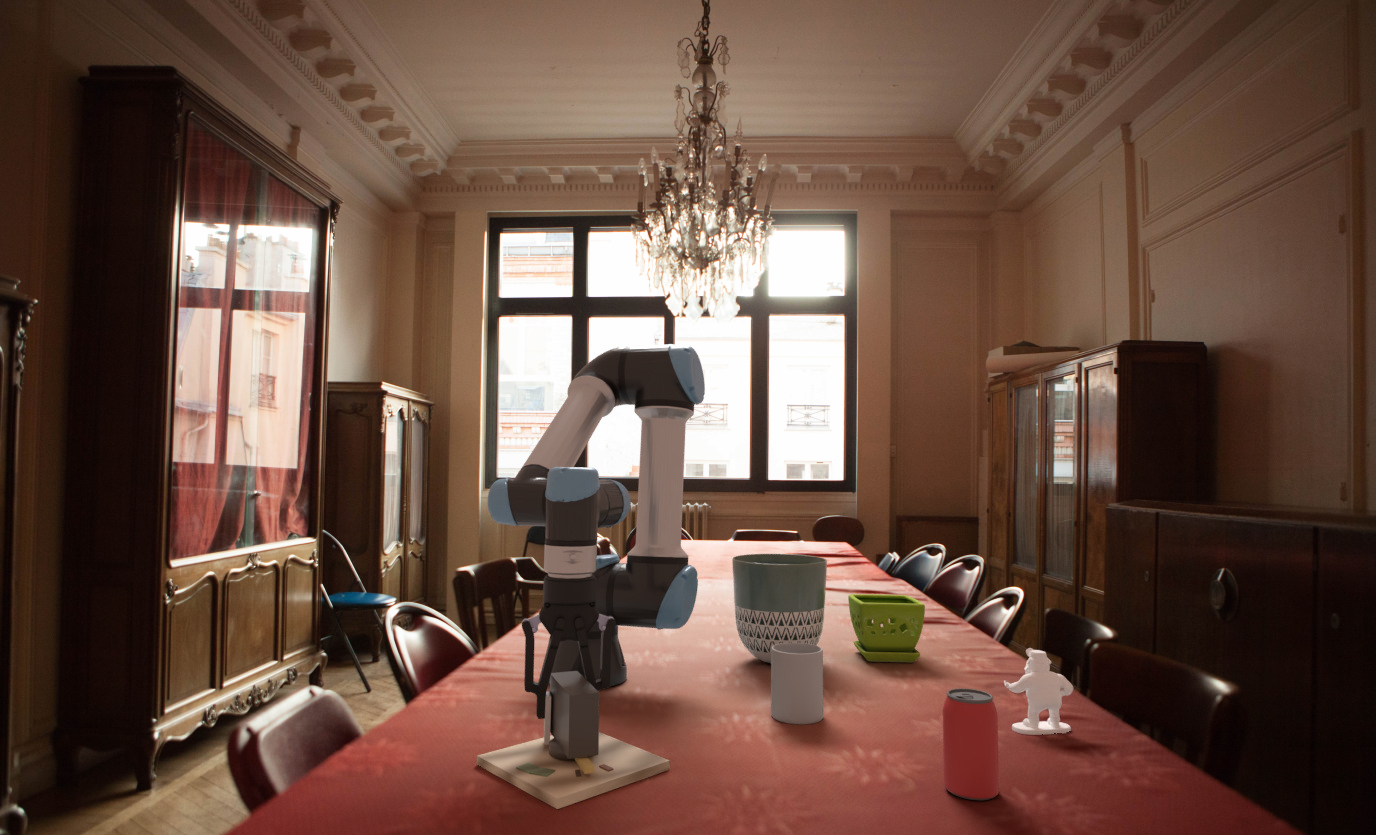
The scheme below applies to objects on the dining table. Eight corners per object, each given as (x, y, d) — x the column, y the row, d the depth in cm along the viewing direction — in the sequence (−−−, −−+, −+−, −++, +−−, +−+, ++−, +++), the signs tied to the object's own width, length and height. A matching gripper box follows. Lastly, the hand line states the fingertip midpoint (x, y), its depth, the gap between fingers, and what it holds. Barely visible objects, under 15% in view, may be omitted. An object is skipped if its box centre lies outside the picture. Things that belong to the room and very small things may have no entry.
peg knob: (540, 739, 112) (541, 673, 112) (584, 734, 114) (585, 669, 115) (564, 778, 98) (565, 703, 98) (613, 771, 100) (614, 697, 101)
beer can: (935, 781, 101) (934, 687, 102) (984, 780, 102) (982, 686, 103) (956, 803, 95) (955, 702, 96) (1009, 802, 95) (1007, 701, 96)
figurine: (1054, 721, 127) (1052, 645, 127) (1079, 734, 120) (1077, 655, 121) (1001, 723, 125) (999, 647, 126) (1024, 737, 119) (1022, 656, 120)
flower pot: (927, 666, 162) (926, 603, 163) (859, 665, 162) (859, 603, 163) (909, 650, 176) (908, 593, 177) (846, 650, 176) (846, 592, 177)
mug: (828, 724, 124) (827, 654, 125) (774, 724, 124) (774, 654, 125) (814, 702, 136) (814, 638, 137) (765, 702, 136) (765, 637, 137)
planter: (765, 678, 151) (765, 566, 152) (714, 656, 169) (715, 556, 170) (847, 667, 160) (846, 561, 162) (791, 647, 178) (790, 552, 179)
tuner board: (476, 764, 106) (476, 754, 106) (584, 734, 119) (584, 724, 119) (557, 809, 92) (557, 797, 92) (669, 769, 105) (669, 758, 105)
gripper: (507, 578, 107) (501, 753, 106) (635, 577, 111) (631, 745, 110) (507, 571, 114) (502, 734, 113) (627, 570, 118) (623, 728, 117)
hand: (565, 739), depth 111 cm, fingers closed on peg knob, 5 cm apart
